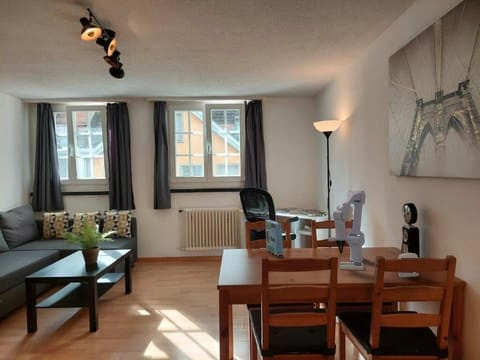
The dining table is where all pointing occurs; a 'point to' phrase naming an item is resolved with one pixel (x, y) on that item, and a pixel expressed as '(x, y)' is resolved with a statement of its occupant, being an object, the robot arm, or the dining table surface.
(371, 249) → the dining table surface
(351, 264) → the channel
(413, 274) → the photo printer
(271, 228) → the gum box
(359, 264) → the slate block
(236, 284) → the dining table surface
